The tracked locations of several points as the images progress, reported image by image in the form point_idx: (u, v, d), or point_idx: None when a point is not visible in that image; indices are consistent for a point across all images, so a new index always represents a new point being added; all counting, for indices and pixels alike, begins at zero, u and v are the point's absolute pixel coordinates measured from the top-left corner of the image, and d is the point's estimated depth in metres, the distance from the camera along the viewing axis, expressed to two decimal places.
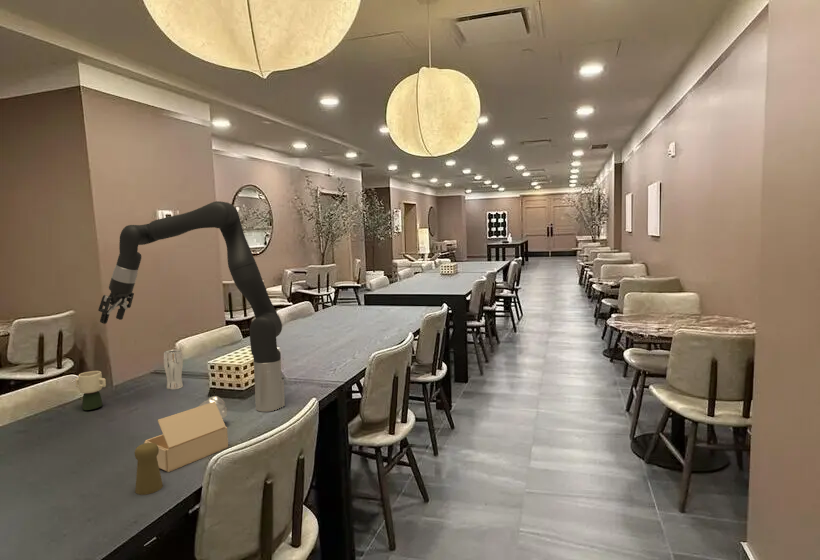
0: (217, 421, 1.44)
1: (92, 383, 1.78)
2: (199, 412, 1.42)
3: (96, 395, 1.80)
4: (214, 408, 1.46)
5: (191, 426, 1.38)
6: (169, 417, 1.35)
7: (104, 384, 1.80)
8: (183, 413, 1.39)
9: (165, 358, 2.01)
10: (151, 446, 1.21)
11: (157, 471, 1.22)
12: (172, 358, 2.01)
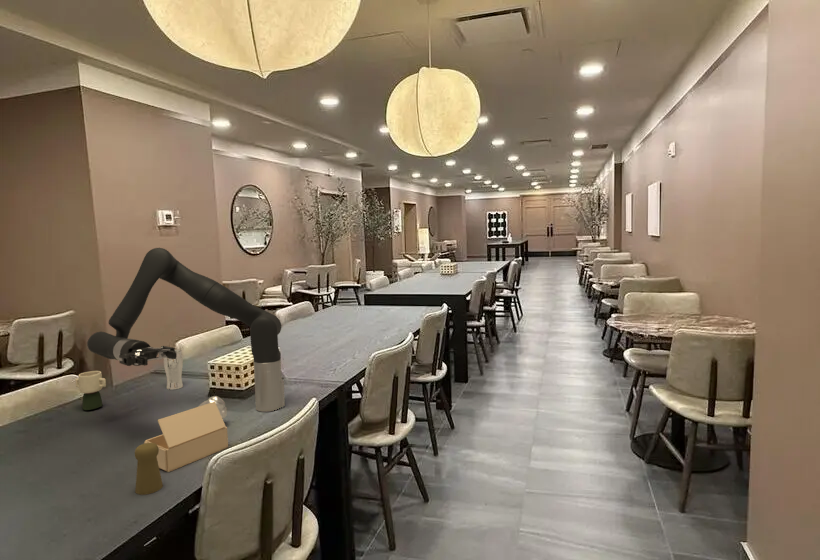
0: (217, 421, 1.44)
1: (92, 383, 1.78)
2: (199, 412, 1.42)
3: (96, 395, 1.80)
4: (214, 408, 1.46)
5: (191, 426, 1.38)
6: (169, 417, 1.35)
7: (104, 384, 1.80)
8: (183, 413, 1.39)
9: (165, 358, 2.01)
10: (151, 446, 1.21)
11: (157, 471, 1.22)
12: None
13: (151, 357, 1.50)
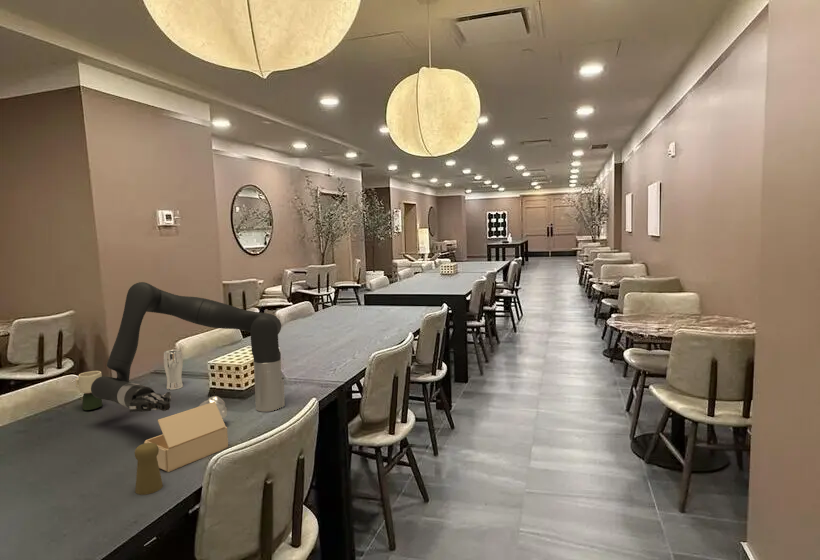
0: (217, 421, 1.44)
1: None
2: (199, 412, 1.42)
3: None
4: (214, 408, 1.46)
5: (191, 426, 1.38)
6: (169, 417, 1.35)
7: None
8: (183, 413, 1.39)
9: (165, 358, 2.01)
10: (151, 446, 1.21)
11: (157, 471, 1.22)
12: (172, 358, 2.01)
13: None
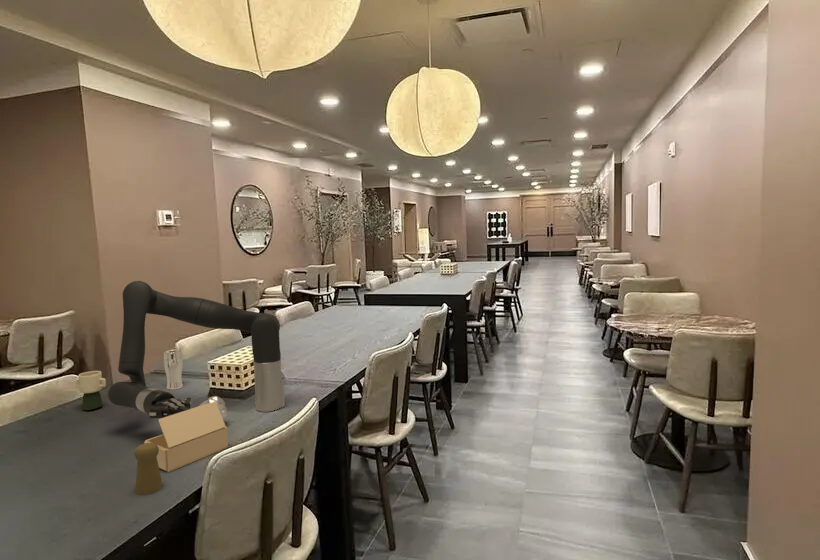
0: (217, 421, 1.44)
1: (92, 383, 1.78)
2: (199, 412, 1.42)
3: (96, 395, 1.80)
4: (214, 408, 1.45)
5: (191, 426, 1.38)
6: (169, 416, 1.35)
7: (104, 384, 1.80)
8: (183, 412, 1.38)
9: (165, 358, 2.01)
10: (151, 446, 1.21)
11: (157, 471, 1.22)
12: (172, 358, 2.01)
13: None
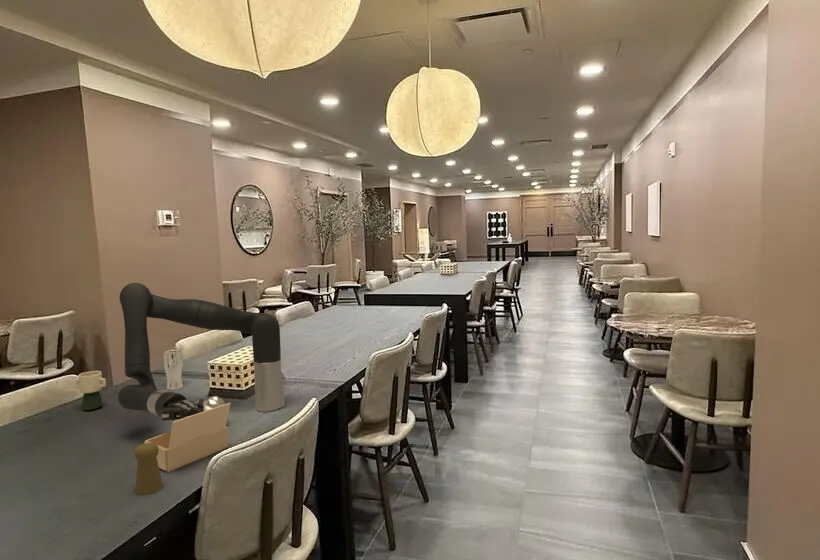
0: (221, 422, 1.43)
1: (92, 383, 1.78)
2: (211, 414, 1.39)
3: (96, 395, 1.80)
4: (226, 410, 1.42)
5: (198, 427, 1.36)
6: (184, 419, 1.31)
7: (104, 384, 1.80)
8: (198, 415, 1.35)
9: (165, 358, 2.01)
10: (151, 446, 1.21)
11: (157, 471, 1.22)
12: (172, 358, 2.01)
13: None
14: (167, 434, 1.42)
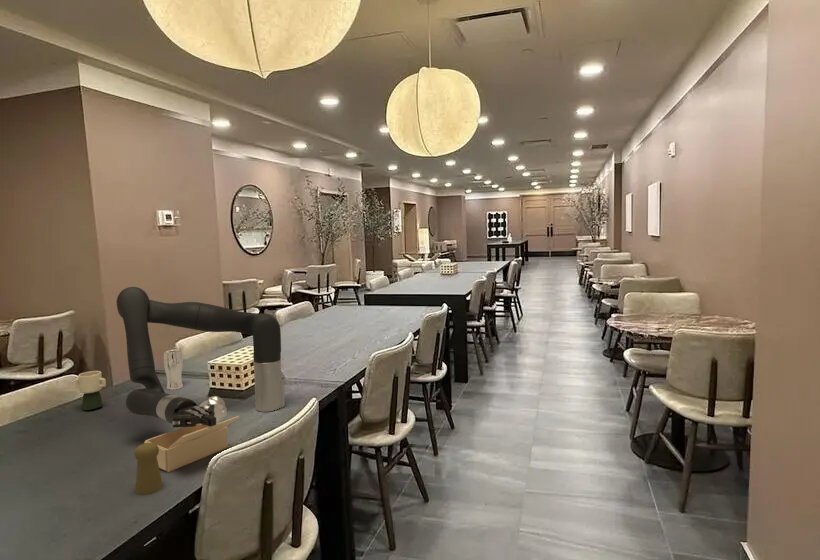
0: (224, 426, 1.42)
1: (92, 383, 1.78)
2: (219, 425, 1.37)
3: (96, 395, 1.80)
4: (233, 420, 1.41)
5: (201, 433, 1.36)
6: (192, 433, 1.29)
7: (104, 384, 1.80)
8: (206, 428, 1.33)
9: (165, 358, 2.01)
10: (151, 446, 1.21)
11: (157, 471, 1.22)
12: (172, 358, 2.01)
13: None
14: (167, 434, 1.42)
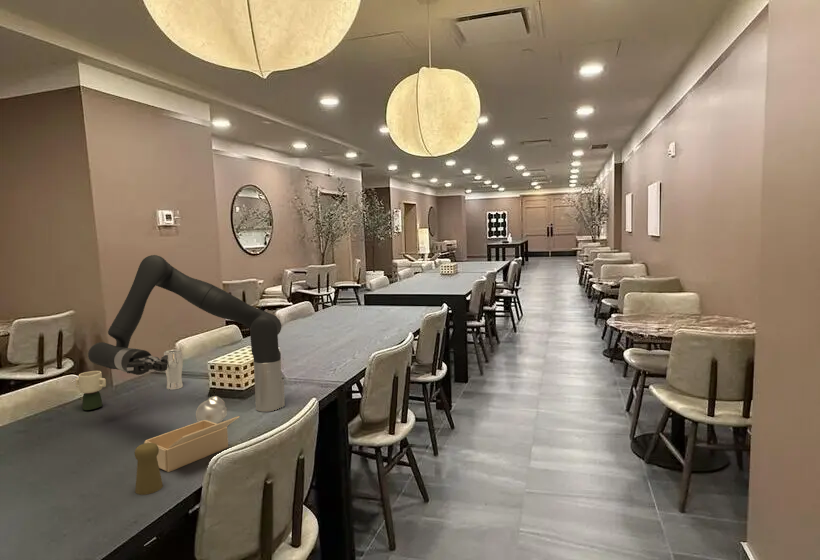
0: (224, 426, 1.42)
1: (92, 383, 1.78)
2: (219, 425, 1.37)
3: (96, 395, 1.80)
4: (233, 420, 1.41)
5: (201, 433, 1.36)
6: (193, 434, 1.29)
7: (104, 384, 1.80)
8: (207, 429, 1.33)
9: None
10: (151, 446, 1.21)
11: (157, 471, 1.22)
12: (172, 358, 2.01)
13: None
14: (167, 434, 1.42)
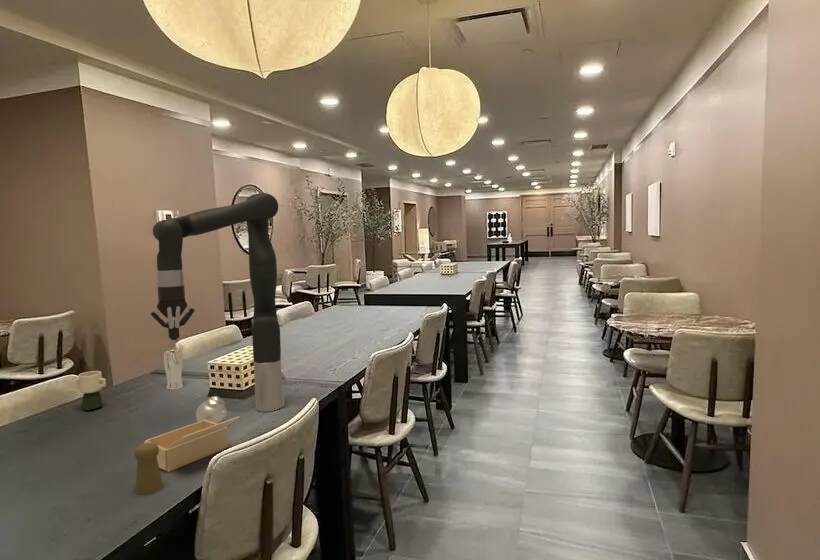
0: (224, 426, 1.42)
1: (92, 383, 1.78)
2: (219, 425, 1.37)
3: (96, 395, 1.80)
4: (233, 420, 1.41)
5: (201, 433, 1.36)
6: (193, 434, 1.29)
7: (104, 384, 1.80)
8: (207, 429, 1.33)
9: (165, 358, 2.01)
10: (151, 446, 1.21)
11: (157, 471, 1.22)
12: (172, 358, 2.01)
13: None
14: (167, 434, 1.42)
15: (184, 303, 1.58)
